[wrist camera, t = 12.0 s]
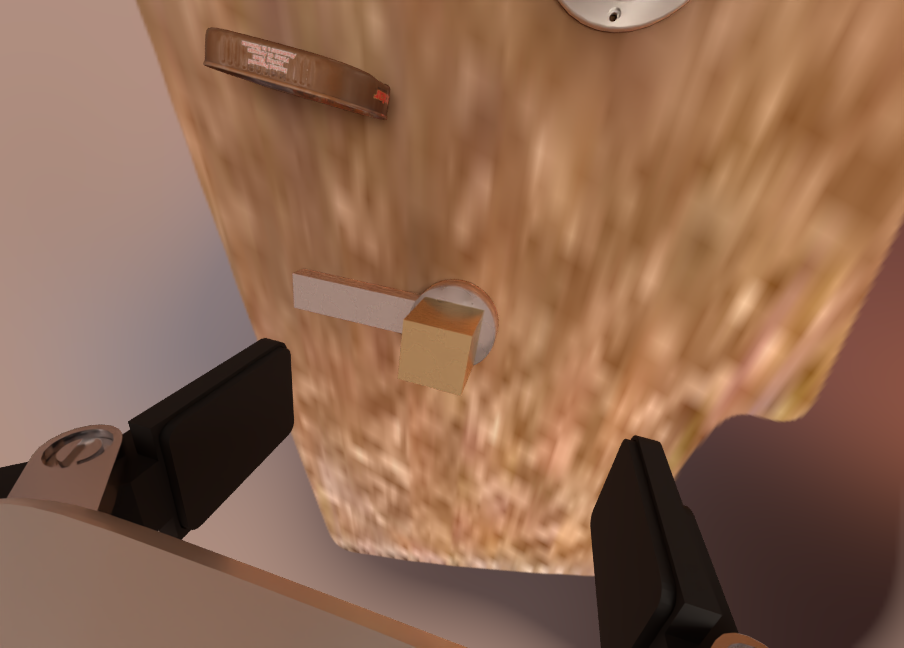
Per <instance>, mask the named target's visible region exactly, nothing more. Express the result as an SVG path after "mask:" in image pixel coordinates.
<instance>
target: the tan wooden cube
mask: <svg viewBox="0 0 904 648" xmlns="http://www.w3.org/2000/svg"><path fill="white" fill-rule="evenodd" d="M483 316H484V310H481V309H477V308H473V307H468V306H464V305H460V304H455V303H451V302H447V301H442V300H438V299H434V298H429V297H424V298H423V299H422V300H421V301H420V302H419V304H418V305H417V306H416V307H415V308H414V309H413V310H412V311H411V312H410V313H409V314H408V315H407V316H406V317H405V318H404V319H403V329H402V339H401V349H400V359H399V369H398V379H401V380H405V381H408V382H412V383H416V384H419V385H423V386H427V387H430V388H434V389H438V390H441V391H445V392H449V393H452V394H456V395H460V396H461V395H462V392H463V390H464V387H465V385H466V382H467V380H468V377H469V375H470V372H471V370H472V367H473V365H474V361H475V356H476V351H477V346H478V341H479V336H480V331H481V326H482V321H483Z"/></svg>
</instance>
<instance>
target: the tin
mask: <svg viewBox="0 0 904 648" xmlns="http://www.w3.org/2000/svg"><path fill="white" fill-rule="evenodd" d="M203 65H205V66H207V67H210V68H212V69H215V70H218V71H221V72H224V73H226V74H230V75H233V76H236V77H239V78H242V79H245V80H248V81H251V82H254V83H256V84H259V85H262V86H265V87H268V88H272V89H275V90H278V91H282V92H286V93H289V94H292V95H296V96H299V97H303V98H306V99H310V100H313V101H317V102H320V103H324V104H327V105H330V106H334V107H337V108H341V109H344V110H348V111H351V112H355V113H358V114H362V115H366V116H370V117H373V118H378V119H383V120H386V119H387V116H386V113H387V108H388V102H389V96H390V87H389V86H388V85H386V84H383V83H381V82H380V81H378V80H377V79H375V78H374V77H373V76H372V75H370V74H368V73H367V72H364V71H362V70H360V69H358V68H355V67H353V66H350V65H348V64H345V63H342V62H339V61H336V60H333V59H330V58H327V57H324V56H321V55H318V54H314V53H311V52H307V51H304V50H300V49H296V48H293V47H290V46H286V45H282V44H279V43H275V42H271V41H268V40H264V39H260V38H256V37H252V36H248V35H245V34H240V33H236V32H232V31H229V30H224V29H219V28H208V29H207V31H206V37H205V61H204V63H203Z"/></svg>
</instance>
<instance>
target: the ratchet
mask: <svg viewBox="0 0 904 648" xmlns="http://www.w3.org/2000/svg"><path fill="white" fill-rule="evenodd" d="M293 293H294V308H298V309H303V310H307V311H311V312H315V313H319V314H323V315H327V316H332V317H336V318H340V319H344V320H348V321H352V322H357V323H361V324H365V325H369V326H373V327H377V328H381V329H386V330H390V331H394V332H398V333H402V329H403V319H404V318H405V317H406V316H407V315H408V314H409V313H410V312H411V311H412V310H413V309H414V308H415V307H416V306H417V305H418V304H419V302H420V301H421V300H422V299H423V298H424V297H429V298H434V299H438V300H442V301H447V302H451V303H455V304H460V305H464V306H468V307H473V308H477V309H481V310H484V316H483V321H482V326H481V331H480V336H479V341H478V346H477V351H476V356H475V361H474V365H476V364H477V363H479V362H481V361H482V360H483V359H484V358H485V357H486V356H487V355H488V354H489V352H490V350H491V349H492V346H493V344H494V341H495V338H496V335H497V331H498V326H499V319H498V313H497V310H496V307H495V305H494V303H493V301H492V300H491V298H490V297H489V296H488V295H487V294H486V293H485V292H484V291H483V290H482V289H481V288H479V287H478V286H476V285H474V284H472V283H470V282H467V281H463V280H457V279H450V280H444V281H440V282H438V283H435V284H434V285H432V286H430V287H429V288H428V289H427V290H426V291H425V292H424V293H423V294H422V295H421V294H416V293H412V292H407V291H403V290H398V289H394V288H389V287H385V286H380V285H376V284H371V283H367V282H362V281H358V280H353V279H349V278H344V277H340V276H335V275H331V274H326V273H322V272H317V271H312V270H308V269H301V270H299V271H297V272H294V273H293ZM474 365H473V366H474Z"/></svg>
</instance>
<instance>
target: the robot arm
mask: <svg viewBox="0 0 904 648" xmlns="http://www.w3.org/2000/svg"><path fill="white" fill-rule="evenodd" d="M689 1H690V0H558V2H559V3H560V4H561V5H562V6H563V7H564V9H565V10H566V11H567V12H568V13H569V14H570V15H571V16H572V17H574V18H575V19H576V20H578V21H579V22H581V23H582V24H584V25H587V26H589V27H591V28H594V29H596V30H601V31H608V32H626V31H633V30H637V29H641V28H644V27H648V26H651V25H653V24H655V23H657V22H659V21H661V20H663V19H665V18H667V17H669V16H670V15H671V14H673V13H674V12H676V11H677V10H679V9H680V8H681V7H683V6H684V5H686V4H687V3H688V2H689ZM613 14H614V15H616V17H617V18H616V20H615V21H614V22H611V21H610V19H609V17H610V16H611V15H613ZM128 423H129V427H130V430H129V431H127V432H126V433H124V434H122V432H121V431H120V430H119V429H118V428H116V427H114V426H111V425H89V426H84V427H80V428H76V429H73V430H70V431H67V432H64V433H62V434H60V435H58V436H56V437H54V438H52V439H50V440H48V441H47V442H46V443H44V444H43V445H42V446H40V447H39V448H38V449H37V450H36V451H35V453H34V454H33V455H32V456H31V458H30V460H29V461H28V462H25V463H20V464H15V465H10V466H6V467H1V468H0V648H467V647H464V646H462V645H459V644H456V643H454V642H451V641H449V640H446V639H443V638H441V637H438V636H436V635H433V634H430V633H428V632H425V631H423V630H420V629H417V628H415V627H412V626H409V625H407V624H404V623H402V622H399V621H396V620H394V619H391V618H389V617H386V616H383V615H380V614H378V613H375V612H372V611H370V610H367V609H365V608H362V607H360V606H357V605H354V604H351V603H349V602H346V601H344V600H341V599H338V598H335V597H333V596H330V595H328V594H325V593H322V592H320V591H317V590H314V589H312V588H309V587H306V586H304V585H301V584H298V583H296V582H293V581H290V580H288V579H285V578H283V577H280V576H277V575H274V574H272V573H269V572H267V571H264V570H261V569H259V568H256V567H253V566H250V565H248V564H245V563H242V562H240V561H236V560H234V559H232V558H229V557H226V556H223V555H221V554H218V553H215V552H213V551H210V550H207V549H204V548H202V547H199V546H196V545H193V544H191V543H188V542H185V541H183V540H182V539H183V537H185V536H186V535H187V534H188V532H189V531H190V530H195V529H197V528H198V527H200V526H201V525H202V524H203V523H204V522H205V521H206V520H207V519H208V518H209V517H210V516H211V515H212V514H213V513H214V511H215V510H217V508H218V507H219V506H220V505H221V504H222V503H223V502H224V501H225V500H226V499H227V498H228V497H229V496H230V495H231V494H232V493H233V492H234V491H235V490H236V489H237V488H238V487H239V486H240V484H242V483H243V481H244V480H245V479H246V478H247V477H248V476H249V475H250V474H251V473H252V472H253V471H254V470H255V469H256V468H257V467H258V466H259V465H260V464H261V463H262V462H263V461H264V460H265V459H266V458H267V457H268V456H269V455H270V454H271V452H272V451H273V450H274V449H275V448H276V447H277V446H278V445H279V444H280V443H281V442H282V441H283V440H284V439H285V438H286V437H287V436H288V435H289V433H290V432H291V430H292V428H293V425H294V411H293V392H292V372H291V354H290V351H289V350H288V349H287V347H286V345H285V344H284V343H283V342H279V341H275V340H271V339H267V338H263V339H260V340H259V341H257V342H256V343H254V344H252V345H251V346H249V347H248V348H246V349H244V350H243V351H241V352H239V353H238V354H236V355H235V356H233V357H231V358H230V359H228V360H227V361H225V362H223V363H222V364H220V365H218V366H217V367H215V368H214V369H212V370H210V371H209V372H207V373H206V374H204V375H202V376H201V377H199V378H197V379H196V380H194V381H193V382H191V383H189V384H188V385H186V386H185V387H183V388H181V389H180V390H178V391H177V392H175V393H173V394H172V395H170V396H168V397H167V398H165V399H164V400H162V401H160V402H159V403H157V404H155V405H154V406H152V407H151V408H149V409H147V410H146V411H144V412H143V413H141V414H139V415H138V416H136V417H135V418H133V419H131V420H130V421H128ZM590 526H591V539H592V550H593V562H594V573H595V584H596V596H597V607H598V619H599V630H600V642H601V648H768V647H767V646H765V645H764V644H762V643H760V642H759V641H757V640H755V639H753V638H751V637H749V636H746V635H742V634H739V633H738V630H737V628H736V625H735V622H734V620H733V617H732V615H731V612H730V609H729V606H728V604H727V601H726V599H725V596H724V593H723V591H722V588H721V585H720V583H719V580H718V577H717V575H716V572H715V569H714V567H713V564H712V562H711V559H710V556H709V554H708V551H707V548H706V546H705V543H704V540H703V538H702V535H701V532H700V530H699V527H698V525H697V522H696V519H695V516H694V515H693V513H692V511H691V510H690V509H689V508H688V507H687V506H684V505H683V504H682V501H681V498H680V495H679V492H678V490H677V487H676V484H675V481H674V478H673V476H672V473H671V470H670V467H669V464H668V462H667V459H666V456H665V453H664V450H663V448H662V445H661V443H660V442H658V441H655V440H651V439H647V438H644V437H640V436H636V435H635V436H633V437H632V438H631V440H628V439H624V440H623V442H622V444H621V446H620V448H619V451H618V453H617V455H616V458H615V460H614V463H613V465H612V467H611V470H610V472H609V474H608V477H607V479H606V481H605V484H604V486H603V488H602V491H601V493H600V495H599V498H598V500H597V502H596V505H595V507H594V509H593V512H592V516H591V523H590ZM158 531H159V532H158Z"/></svg>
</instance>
